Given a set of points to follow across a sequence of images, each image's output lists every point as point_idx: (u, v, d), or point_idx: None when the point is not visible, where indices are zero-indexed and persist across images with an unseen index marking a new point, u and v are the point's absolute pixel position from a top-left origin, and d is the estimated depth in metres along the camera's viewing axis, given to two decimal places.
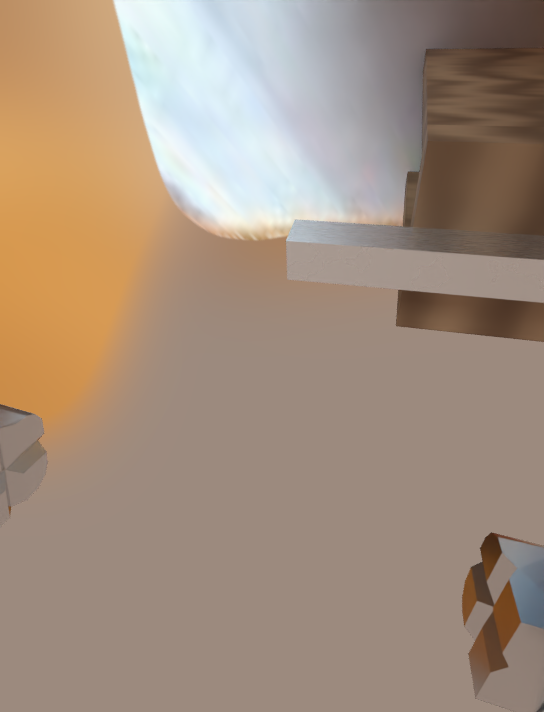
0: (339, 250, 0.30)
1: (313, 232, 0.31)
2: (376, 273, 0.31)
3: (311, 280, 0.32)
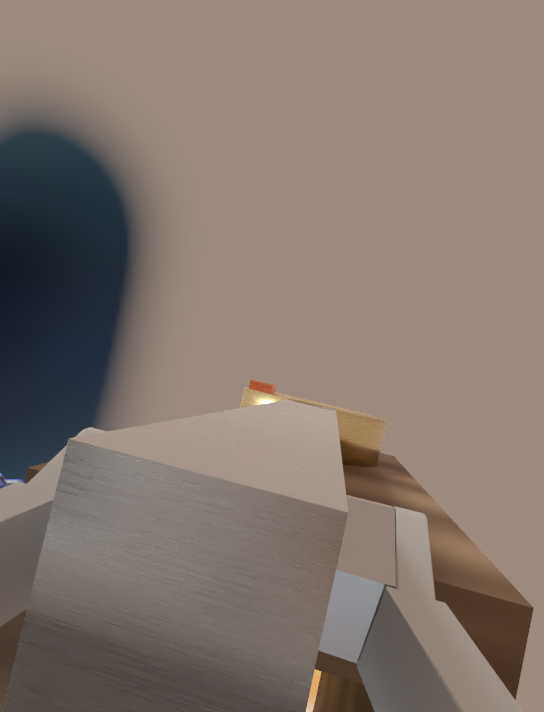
0: (200, 424, 0.08)
1: None
2: (292, 432, 0.11)
3: (337, 477, 0.06)
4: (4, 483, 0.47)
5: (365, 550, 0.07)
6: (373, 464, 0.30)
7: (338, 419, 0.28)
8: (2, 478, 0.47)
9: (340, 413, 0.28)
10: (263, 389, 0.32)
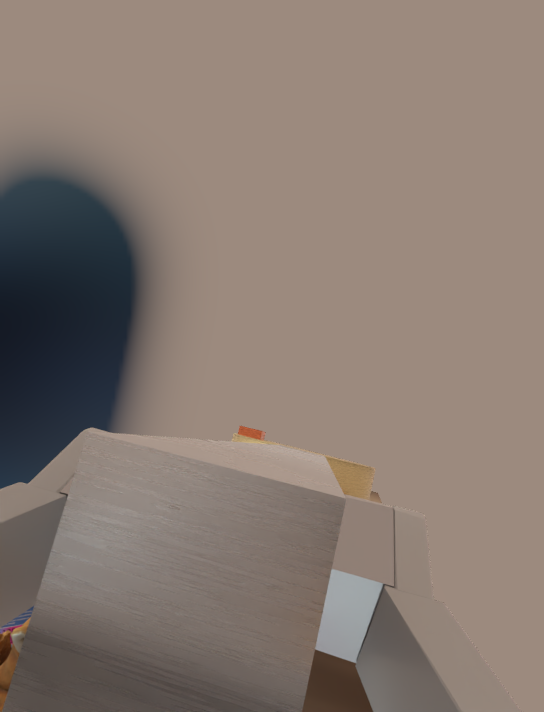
0: (199, 443, 0.09)
1: None
2: (286, 459, 0.11)
3: (333, 483, 0.07)
4: None
5: (364, 550, 0.07)
6: None
7: None
8: None
9: (329, 459, 0.28)
10: (252, 435, 0.32)
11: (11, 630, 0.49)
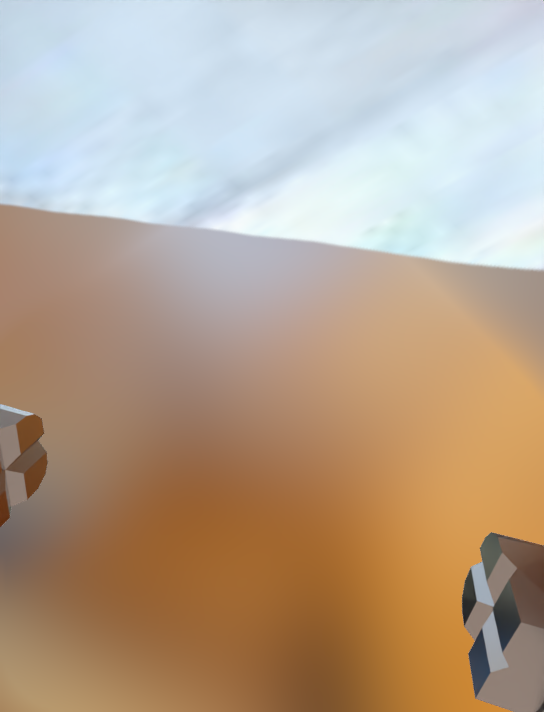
0: None
1: None
2: None
3: None
4: None
5: None
6: None
7: None
8: None
9: None
10: None
11: None
